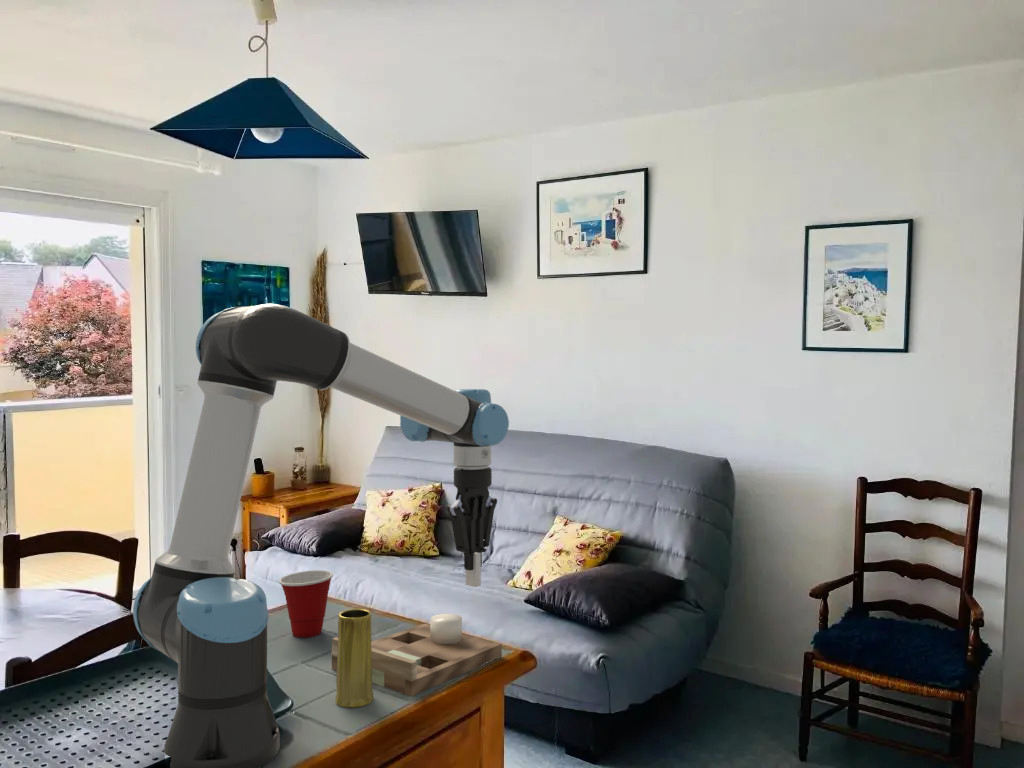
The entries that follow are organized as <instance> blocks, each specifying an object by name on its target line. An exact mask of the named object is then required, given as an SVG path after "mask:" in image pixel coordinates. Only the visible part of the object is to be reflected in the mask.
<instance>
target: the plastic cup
mask: <svg viewBox="0 0 1024 768" xmlns="http://www.w3.org/2000/svg"><path fill="white" fill-rule="evenodd" d="M333 576H334V574H333V572H332V571H330V570H324V569H323V570H322V569H317V570H316V569H314V570H305V571H298V572H294V573H290V574H287V575H284V576H282V577H281V578H279V580H278V583H279V584H280V585H281V587H282V590H283V592H284V596H285V600H286V606H287V613H288V617H289V621H290V626H291V633H292V635H293V636H294V637H296V638H303V639H304V638H312V637H316V636H318V635H321V633H322V630H323V626H324V619H325V617H326V609H327V604H328V603H327V602H328V597H329V591H330V585H331V581H332V578H333Z"/></svg>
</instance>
